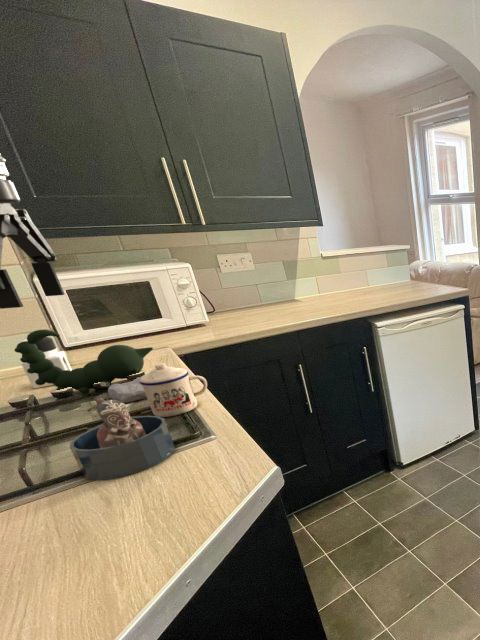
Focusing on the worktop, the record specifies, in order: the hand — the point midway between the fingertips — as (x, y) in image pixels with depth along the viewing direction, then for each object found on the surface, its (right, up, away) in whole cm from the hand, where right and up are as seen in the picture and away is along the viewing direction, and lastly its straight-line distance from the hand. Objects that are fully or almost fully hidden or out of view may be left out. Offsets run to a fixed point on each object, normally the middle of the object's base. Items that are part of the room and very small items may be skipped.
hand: (35, 301), depth 80 cm
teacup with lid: (+11, -22, +22) cm, 33 cm away
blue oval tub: (+18, -30, 0) cm, 35 cm away
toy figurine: (-22, -17, +36) cm, 45 cm away
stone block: (-6, -19, +31) cm, 36 cm away
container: (-42, -15, +41) cm, 61 cm away
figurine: (+18, -30, 0) cm, 35 cm away
